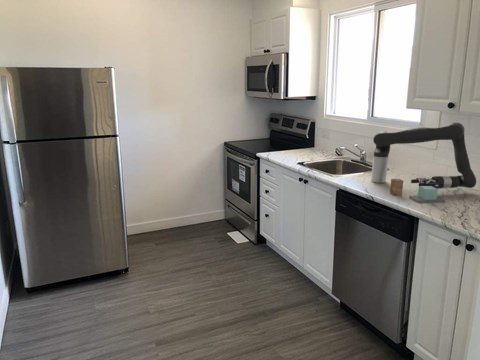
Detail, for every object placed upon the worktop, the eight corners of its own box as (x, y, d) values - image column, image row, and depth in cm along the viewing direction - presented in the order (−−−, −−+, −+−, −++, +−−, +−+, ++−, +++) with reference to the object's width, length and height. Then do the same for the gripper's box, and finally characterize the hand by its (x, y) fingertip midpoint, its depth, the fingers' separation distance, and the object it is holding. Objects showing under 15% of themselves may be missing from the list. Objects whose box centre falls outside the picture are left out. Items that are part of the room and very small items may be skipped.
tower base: (409, 198, 223) (410, 185, 221) (435, 197, 225) (437, 185, 223) (417, 202, 214) (419, 190, 213) (444, 201, 216) (446, 189, 214)
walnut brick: (389, 193, 232) (391, 178, 230) (397, 193, 233) (399, 178, 231) (393, 195, 228) (395, 180, 225) (401, 195, 228) (403, 180, 226)
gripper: (434, 173, 237) (409, 174, 236) (449, 178, 223) (422, 179, 222) (433, 185, 239) (408, 186, 237) (447, 191, 225) (421, 192, 224)
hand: (415, 183), depth 230 cm, fingers open, 8 cm apart
